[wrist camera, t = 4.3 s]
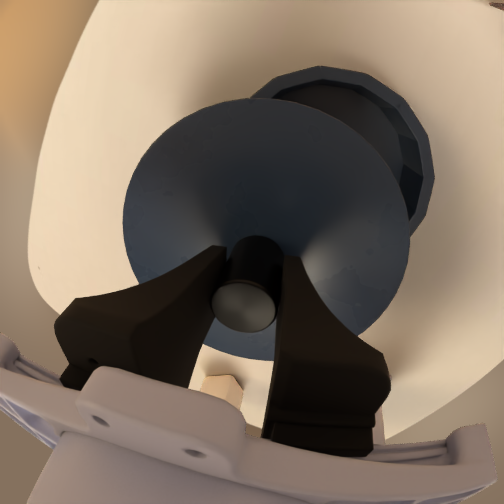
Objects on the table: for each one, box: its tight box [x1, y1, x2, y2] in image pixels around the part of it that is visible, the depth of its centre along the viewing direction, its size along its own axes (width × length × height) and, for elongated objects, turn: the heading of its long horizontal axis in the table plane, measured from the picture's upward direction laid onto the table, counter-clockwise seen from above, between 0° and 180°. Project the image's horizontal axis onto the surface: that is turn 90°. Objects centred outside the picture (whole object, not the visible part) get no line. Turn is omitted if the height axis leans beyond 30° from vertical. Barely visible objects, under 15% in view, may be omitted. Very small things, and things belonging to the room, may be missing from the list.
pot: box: [250, 66, 435, 237], centre depth 18 cm, size 13×13×4 cm
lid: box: [123, 98, 410, 361], centre depth 12 cm, size 14×14×5 cm
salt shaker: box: [200, 375, 243, 410], centre depth 29 cm, size 4×4×10 cm
